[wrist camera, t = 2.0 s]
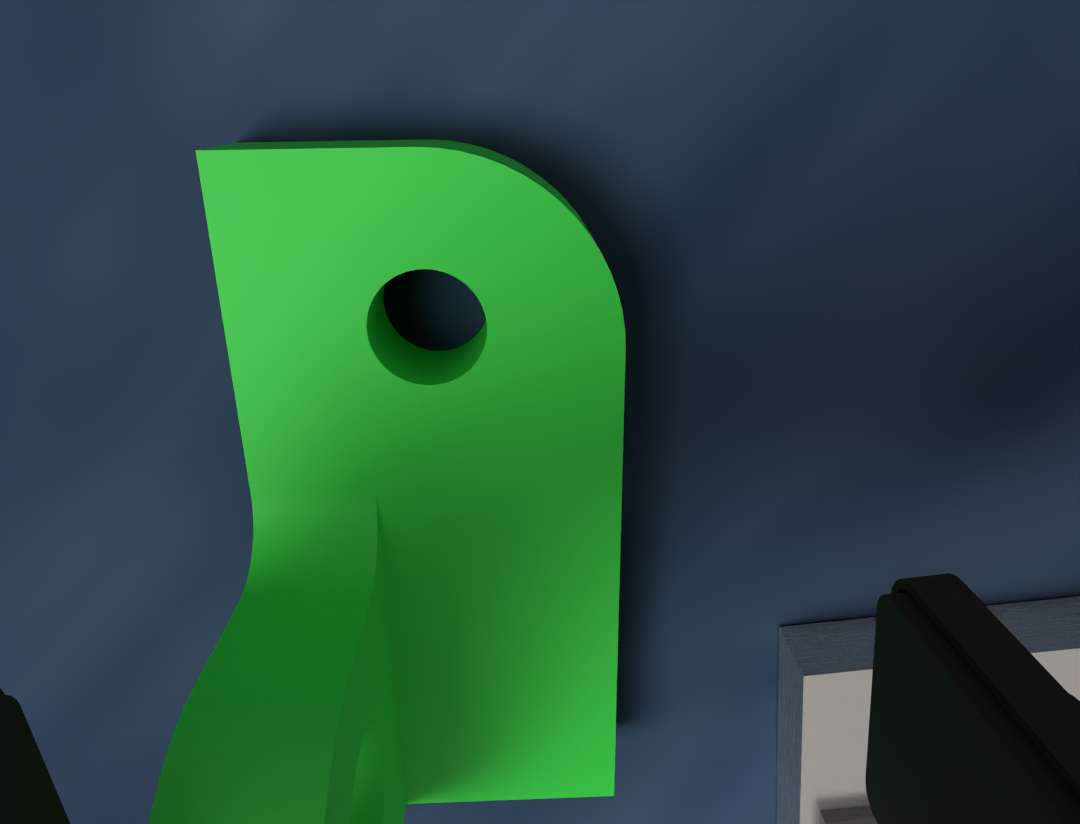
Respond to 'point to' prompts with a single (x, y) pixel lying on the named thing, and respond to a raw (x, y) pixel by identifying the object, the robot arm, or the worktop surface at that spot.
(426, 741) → the mechanical part
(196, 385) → the worktop surface
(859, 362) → the worktop surface
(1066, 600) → the flange
